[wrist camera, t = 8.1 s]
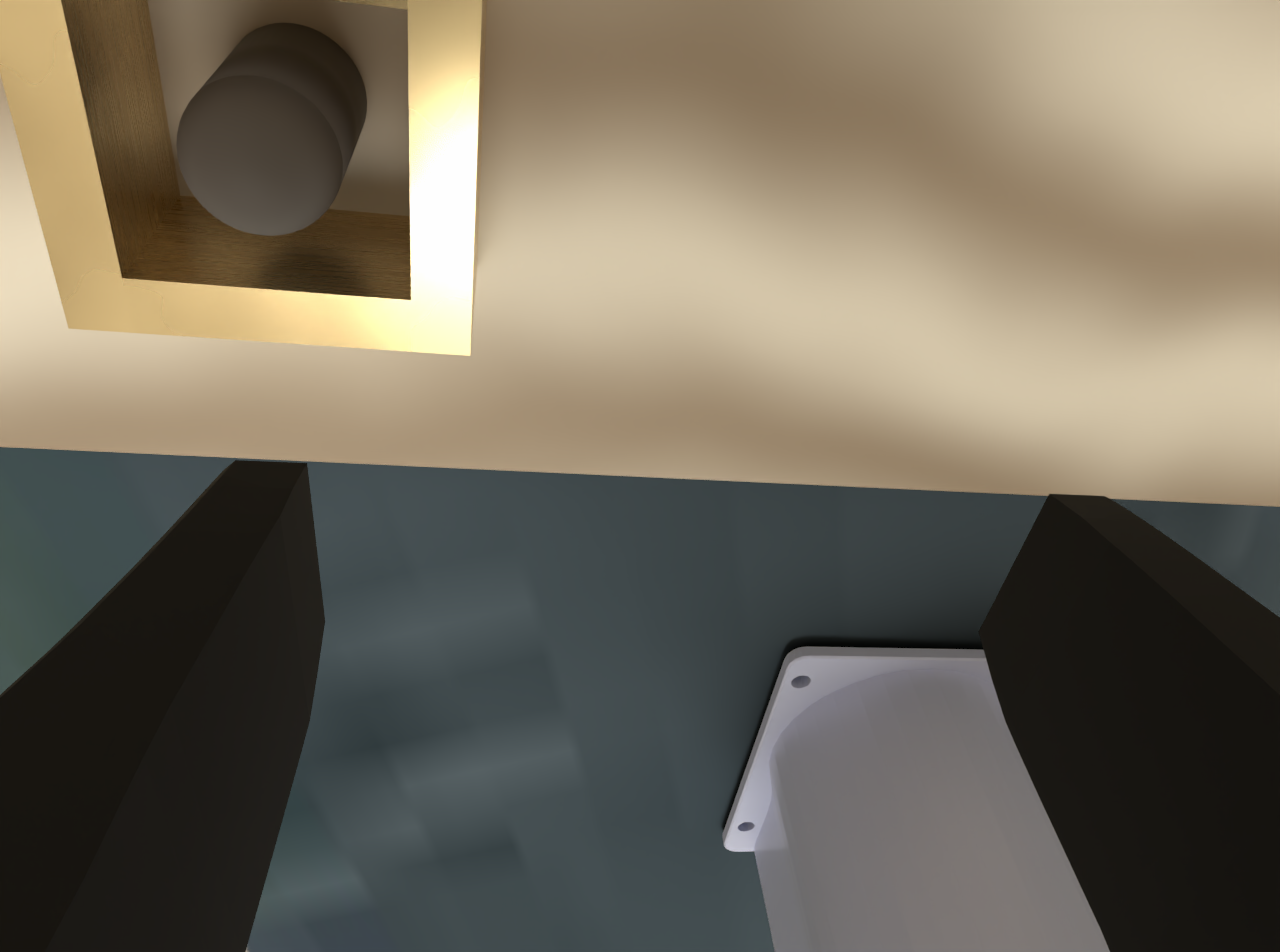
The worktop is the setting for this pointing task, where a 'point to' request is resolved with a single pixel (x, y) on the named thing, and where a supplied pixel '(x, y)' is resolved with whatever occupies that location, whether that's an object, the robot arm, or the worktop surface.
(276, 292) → the brass link
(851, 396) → the keeper board
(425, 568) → the worktop surface
